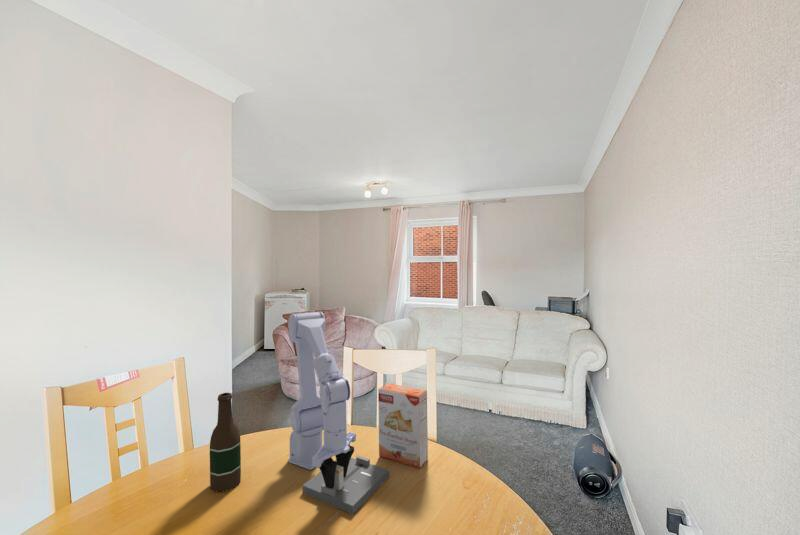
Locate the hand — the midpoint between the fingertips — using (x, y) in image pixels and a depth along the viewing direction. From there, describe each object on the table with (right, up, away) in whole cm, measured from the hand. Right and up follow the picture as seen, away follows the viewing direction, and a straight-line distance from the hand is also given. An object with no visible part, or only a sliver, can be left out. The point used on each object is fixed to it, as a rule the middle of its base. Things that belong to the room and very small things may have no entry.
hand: (335, 481), depth 86 cm
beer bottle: (-30, -4, +5) cm, 31 cm away
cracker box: (+17, -4, +16) cm, 24 cm away
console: (+2, -4, +4) cm, 6 cm away
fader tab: (0, -1, 0) cm, 1 cm away
